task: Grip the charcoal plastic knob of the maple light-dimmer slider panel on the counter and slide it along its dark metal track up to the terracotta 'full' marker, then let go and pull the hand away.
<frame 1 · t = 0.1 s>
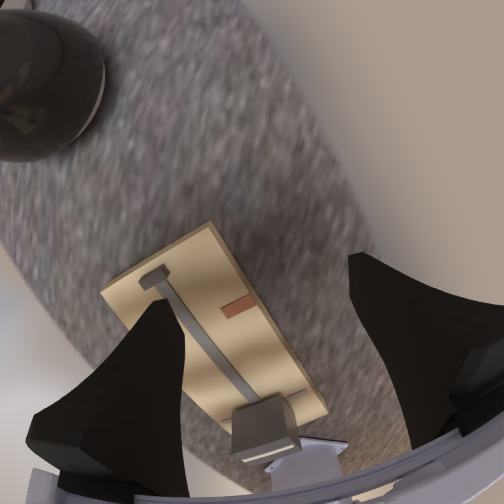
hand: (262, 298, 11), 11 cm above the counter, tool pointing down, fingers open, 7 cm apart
slider panel: (229, 355, 25), on the counter
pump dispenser: (69, 95, 17), on the counter
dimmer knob: (265, 432, 22), point 5 cm above the counter, slide at 0.0 cm
salt shaker: (18, 20, 13), on the counter
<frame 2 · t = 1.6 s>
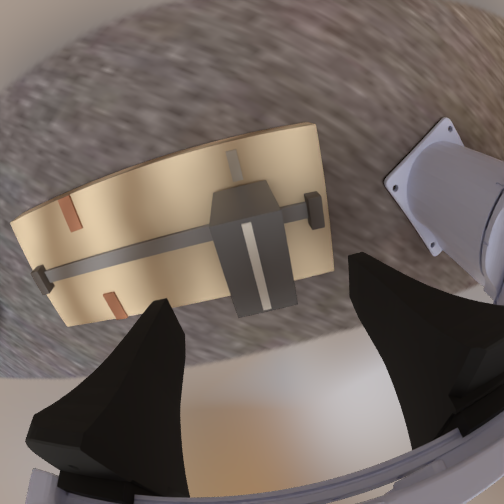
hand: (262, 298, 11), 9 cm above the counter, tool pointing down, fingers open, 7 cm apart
slider panel: (161, 232, 20), on the counter
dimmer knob: (253, 245, 15), point 5 cm above the counter, slide at 0.0 cm
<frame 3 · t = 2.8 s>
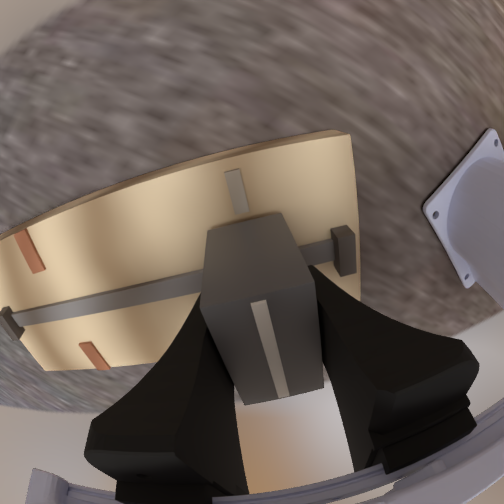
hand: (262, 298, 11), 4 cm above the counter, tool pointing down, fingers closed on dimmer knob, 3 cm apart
slider panel: (144, 271, 15), on the counter
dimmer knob: (264, 309, 11), point 5 cm above the counter, slide at 0.0 cm, touching gripper
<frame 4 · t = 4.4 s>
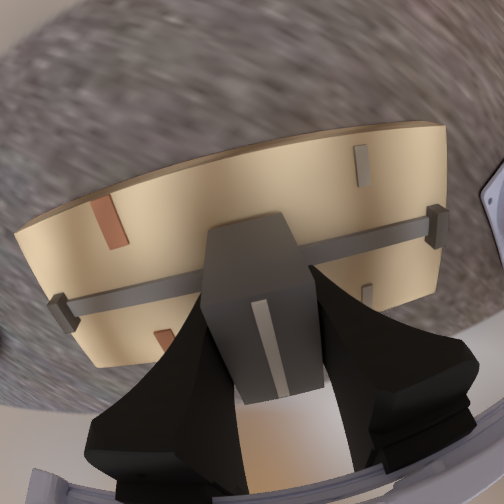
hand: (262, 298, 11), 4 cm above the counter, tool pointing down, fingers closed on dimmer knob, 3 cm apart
slider panel: (239, 248, 15), on the counter
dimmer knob: (264, 308, 11), point 5 cm above the counter, slide at 5.3 cm, touching gripper
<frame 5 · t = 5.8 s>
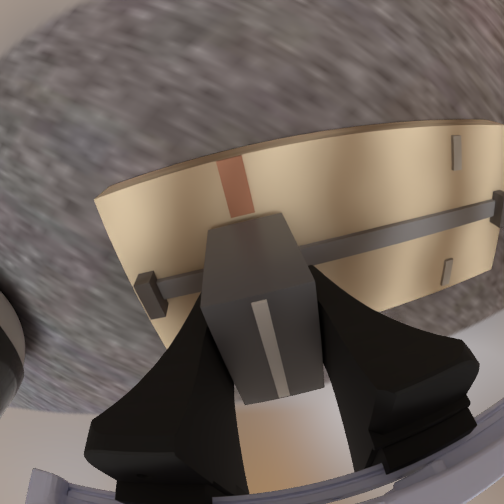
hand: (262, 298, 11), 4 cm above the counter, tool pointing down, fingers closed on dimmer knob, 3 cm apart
slider panel: (344, 223, 15), on the counter
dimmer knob: (264, 309, 11), point 5 cm above the counter, slide at 11.0 cm, touching gripper
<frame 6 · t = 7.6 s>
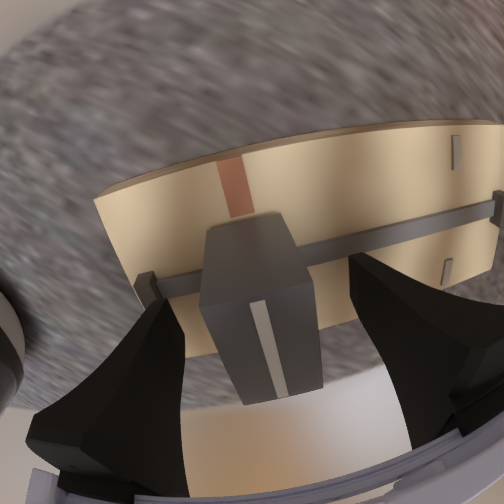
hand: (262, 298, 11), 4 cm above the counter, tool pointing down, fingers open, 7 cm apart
slider panel: (344, 224, 15), on the counter
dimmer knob: (263, 309, 11), point 5 cm above the counter, slide at 11.0 cm
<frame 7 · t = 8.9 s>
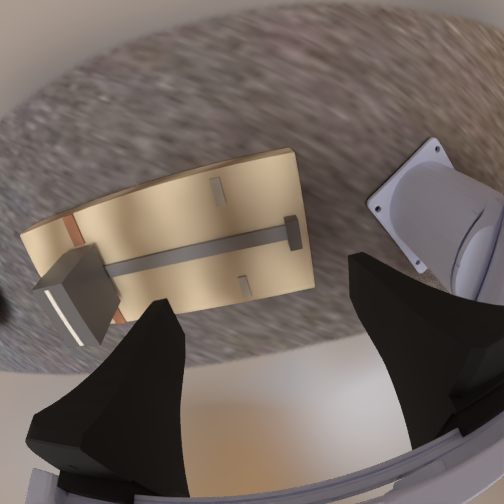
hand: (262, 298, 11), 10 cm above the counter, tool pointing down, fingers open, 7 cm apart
slider panel: (156, 247, 22), on the counter
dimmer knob: (78, 297, 17), point 5 cm above the counter, slide at 11.0 cm
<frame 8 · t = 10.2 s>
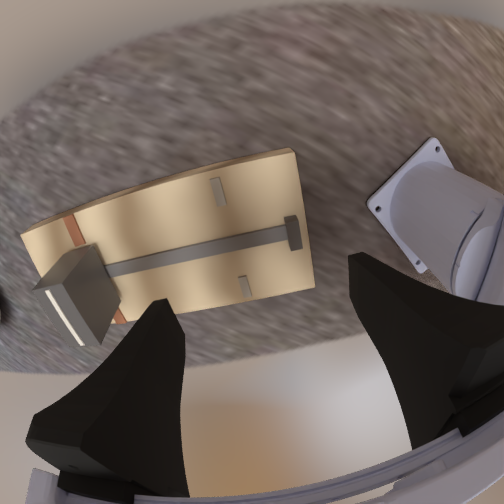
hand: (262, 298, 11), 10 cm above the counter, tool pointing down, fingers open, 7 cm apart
slider panel: (156, 247, 22), on the counter
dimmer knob: (79, 297, 18), point 5 cm above the counter, slide at 11.0 cm
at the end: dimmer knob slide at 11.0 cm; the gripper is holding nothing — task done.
